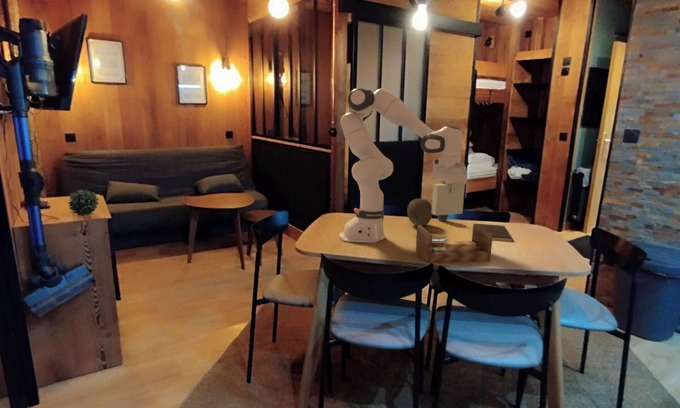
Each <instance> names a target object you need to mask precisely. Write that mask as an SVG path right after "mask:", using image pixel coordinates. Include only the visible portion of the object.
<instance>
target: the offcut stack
mask: <svg viewBox="0 0 680 408" xmlns="http://www.w3.org/2000/svg"><path fill="white" fill-rule="evenodd" d="M442 242H443V247H437V248H433V249H432V252H473V251H474V249H476V243H474V242H473V241H472V240H469V241H468V240H467V241H466V240H463V241H462V240H461V241H458V240H457V241H456V240H455V241H442Z"/></svg>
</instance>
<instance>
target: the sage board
mask: <svg viewBox="0 0 680 408" xmlns="http://www.w3.org/2000/svg"><path fill="white" fill-rule="evenodd" d="M465 185H466V184H465ZM465 185H458V186H457V187H456V189H455V193H451V192H450V189H452V186H453V185H452V183H450V182H449V183H445V184H441V183H434V184H433V186H432V203H431V206H432V214H433V215H434V216H438V215H448V216H449V215H462V214H463V209H464V200H465V199H464V198H465V187H466V186H465Z"/></svg>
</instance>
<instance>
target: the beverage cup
mask: <svg viewBox="0 0 680 408" xmlns="http://www.w3.org/2000/svg"><path fill="white" fill-rule="evenodd" d="M448 216H449V215H437V217H438V222H441V223H445V222H446V223H447V221H448Z"/></svg>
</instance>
